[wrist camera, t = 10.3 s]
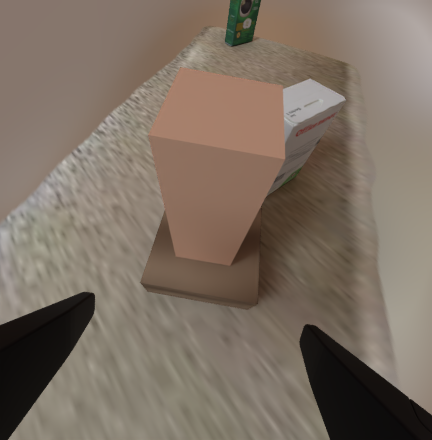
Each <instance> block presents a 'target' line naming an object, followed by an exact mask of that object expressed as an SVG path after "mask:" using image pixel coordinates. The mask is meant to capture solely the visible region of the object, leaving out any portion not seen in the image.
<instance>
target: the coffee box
mask: <svg viewBox="0 0 432 440" xmlns="http://www.w3.org/2000/svg"><path fill="white" fill-rule="evenodd" d="M260 2H261V0H230V8H229V16H228V23H227V30H226V38H225V43H226V44H228V45H230V46H234V45H238V44H242V43H247V42H250V41H252V39H253V35H254V30H255V25H256V21H257V16H258V11H259V7H260Z"/></svg>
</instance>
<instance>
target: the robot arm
mask: <svg viewBox="0 0 432 440" xmlns="http://www.w3.org/2000/svg"><path fill="white" fill-rule="evenodd" d="M94 310H95V294H94V293H90V292H82V293H79V294H77V295H74V296H72V297H69V298H67V299H64V300H62V301H59V302H57V303H54V304H52V305H49V306H47V307H44V308H42V309H39V310H37V311H34V312H32V313H29V314H27V315H24V316H22V317H19V318H17V319H14V320H12V321H9V322H7V323H4V324H2V325H0V440H8V439H9V437H10V436H11V435H12V433H13V432H14V431H15V429H16V428H17V426H18V425H19V424H20V422H21V421H22V420H23V418H24V417H25V415H26V414H27V413H28V411H29V410H30V409H31V407H32V406H33V404H34V403H35V402H36V400H37V399H38V397H39V396H40V395H41V393H42V392H43V391H44V389H45V388H46V386H47V385H48V384H49V382H50V381H51V380H52V378H53V377H54V375H55V374H56V373H57V371H58V370H59V369H60V367H61V366H62V364H63V363H64V362H65V360H66V359H67V357H68V356H69V355H70V353H71V352H72V350H73V348H74V347H75V345H76V343H77V342H78V340H79V338H80V337H81V335H82V333H83V332H84V330H85V328H86V327H87V325H88V323H89V322H90V320H91V318H92V316H93V314H94ZM300 348H301V352H302V356H303V359H304V363H305V367H306V371H307V374H308V378H309V382H310V385H311V388H312V391H313V394H314V397H315V399H316V402H317V405H318V408H319V410H320V413H321V416H322V419H323V421H324V424H325V427H326V430H327V432H328V435H329V438H330V440H432V415H431V414H430V413H428V412H427V411H426V410H424V409H423V408H422V407H420V406H419V405H418V404H417V403H415V402H414V401H413V400H411V399H409V398H408V397H407V396H406V395H405V394H403V393H402V392H401V391H400V390H398V389H397V388H396V387H394V386H393V385H392V384H390V383H389V382H388V381H387V380H385V379H384V378H383V377H381V376H380V375H379V374H378V373H376V372H375V371H374V370H372V369H371V368H370V367H368V366H367V365H366V364H365V363H363V362H362V361H361V360H359V359H358V358H357V357H355V356H354V355H353V354H352V353H350V352H349V351H348V350H346V349H345V348H344V347H342V346H341V345H340V344H339V343H337V342H336V341H335V340H333V339H332V338H331V337H330V336H328V335H327V334H326V333H324V332H323V331H322V330H320V329H319V328H318V327H317V326H315V325H309V324H306V325H305V326H304V328H303V331H302V334H301V337H300Z"/></svg>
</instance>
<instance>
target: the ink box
mask: <svg viewBox="0 0 432 440" xmlns="http://www.w3.org/2000/svg"><path fill="white" fill-rule="evenodd" d="M345 101H346V99H345V98H344V97H343V96H342V95H340V94H338V93H336V92H334V91H332V90H330V89H328V88H326V87H325V86H323V85H321V84H319V83H318V82H316V81H314V80H312V79H308V80H306V81H303V82H301V83H298V84H296V85H293V86H290V87H288V88H285V89H283V106H284V135H285V161H284V163H283V165H282V167H281V169H280V171H279V172H278V174H277V176H276V178H275V180H274V182H273V184H272V186H271V188H270V190H269V192H268V194H267V195H269V194H270V193H272V192H273V191H275V190H276V189H278V188H279V187H281V186H282V185H284V184H285V183H287V182H288V181H290V180H291V179H293V178H294V177H296V176H297V174H298V173H299V171H300V170H301V168H302V167H303V165H304V164H305V162H306V161H307V159H308V158H309V156H310V154H311V153H312V151H313V150H314V148H315V147H316V145H317V144H318V142H319V141H320V139H321V138H322V136H323V135H324V133H325V132H326V130H327V129H328V127H329V126H330V124H331V123H332V121H333V120H334V118H335V117H336V115H337V114H338V112H339V111H340V109H341V107H342V106H343V104H344V103H345Z"/></svg>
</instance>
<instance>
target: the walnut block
mask: <svg viewBox="0 0 432 440" xmlns="http://www.w3.org/2000/svg"><path fill="white" fill-rule="evenodd" d="M261 213H262V208H260V209H259V211H258V213H257V215H256V217H255V219H254V221H253V223H252V225H251V227H250V228H249V230H248V232H247V234H246V236H245V238H244V240H243V242H242V244H241V246H240V248H239V250H238V252H237V254H236V255H235V257H234V259H233V261H232V263H231V265H230V266H228V265H222V264H216V263H210V262H205V261H199V260H193V259H187V258H181V257H176V255H175V251H174V246H173V242H172V238H171V233H170V229H169V224H168V220H167V215H166V211H164V214H163V217H162V220H161V223H160V226H159V229H158V232H157V235H156V238H155V241H154V244H153V247H152V250H151V253H150V256H149V258H148V261H147V264H146V267H145V270H144V273H143V276H142V279H141V282H140V283H141V284H142V285H143V286H144V288H145V289H146V290H147V291H148V292H153V293H158V294H164V295H169V296H175V297H180V298H186V299H191V300H197V301H202V302H208V303H213V304H219V305H224V306H230V307H235V308H241V309H246V310H248V309H249V308H251V307H253V306H255V305H257V304H258V283H259V259H260V236H261Z"/></svg>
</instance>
